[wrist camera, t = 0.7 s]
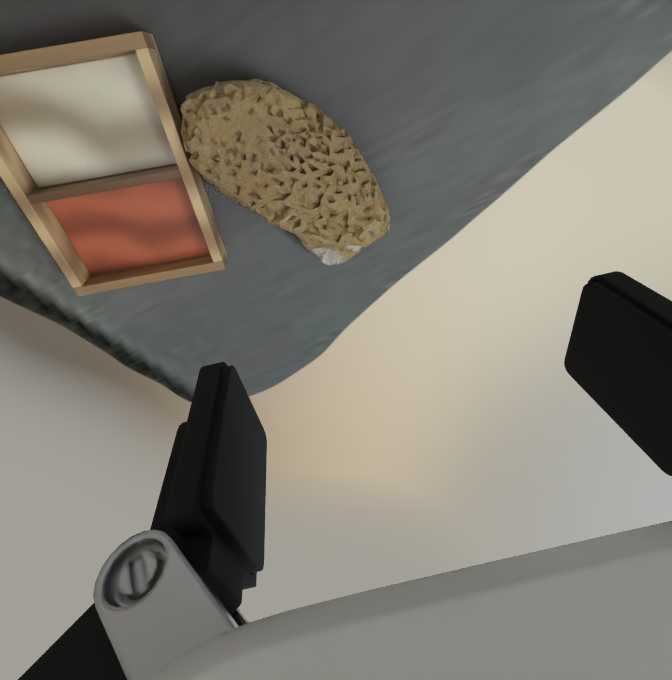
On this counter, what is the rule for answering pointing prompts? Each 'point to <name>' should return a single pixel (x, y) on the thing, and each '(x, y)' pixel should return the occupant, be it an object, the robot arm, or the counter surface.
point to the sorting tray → (104, 163)
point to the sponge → (285, 165)
